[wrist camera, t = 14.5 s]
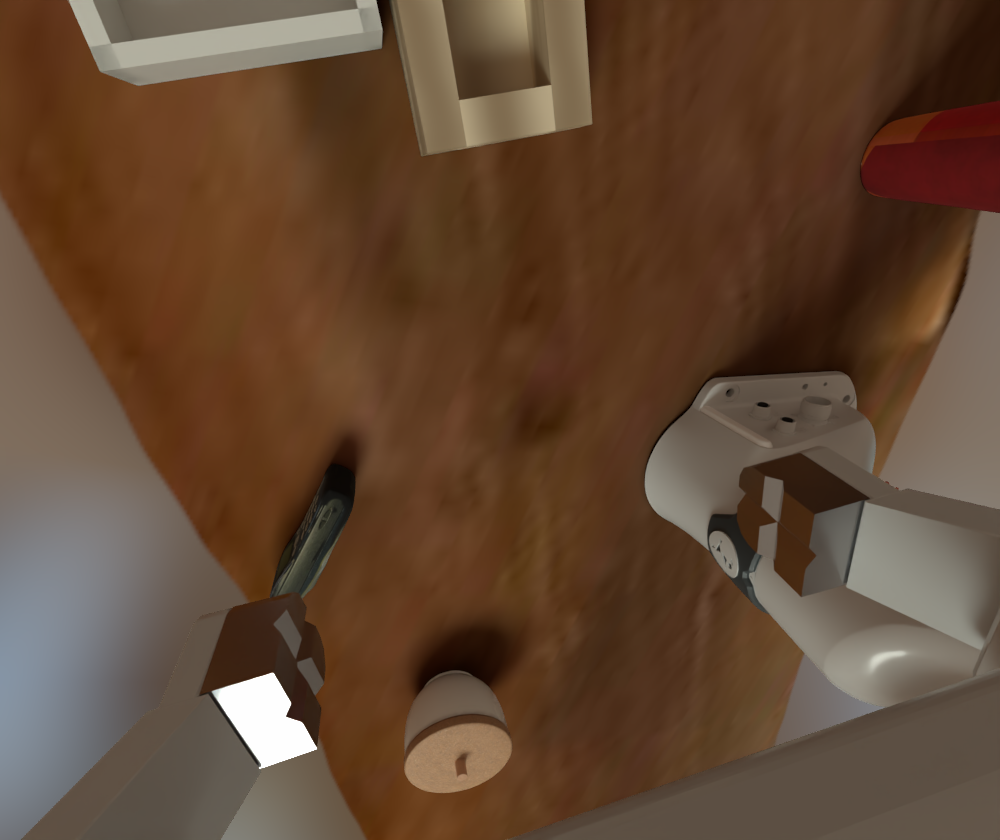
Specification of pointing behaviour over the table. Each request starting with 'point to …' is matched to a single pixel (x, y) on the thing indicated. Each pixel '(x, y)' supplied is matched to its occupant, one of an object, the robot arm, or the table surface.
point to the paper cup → (938, 158)
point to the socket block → (492, 69)
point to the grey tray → (220, 34)
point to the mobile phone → (316, 534)
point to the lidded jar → (455, 734)
